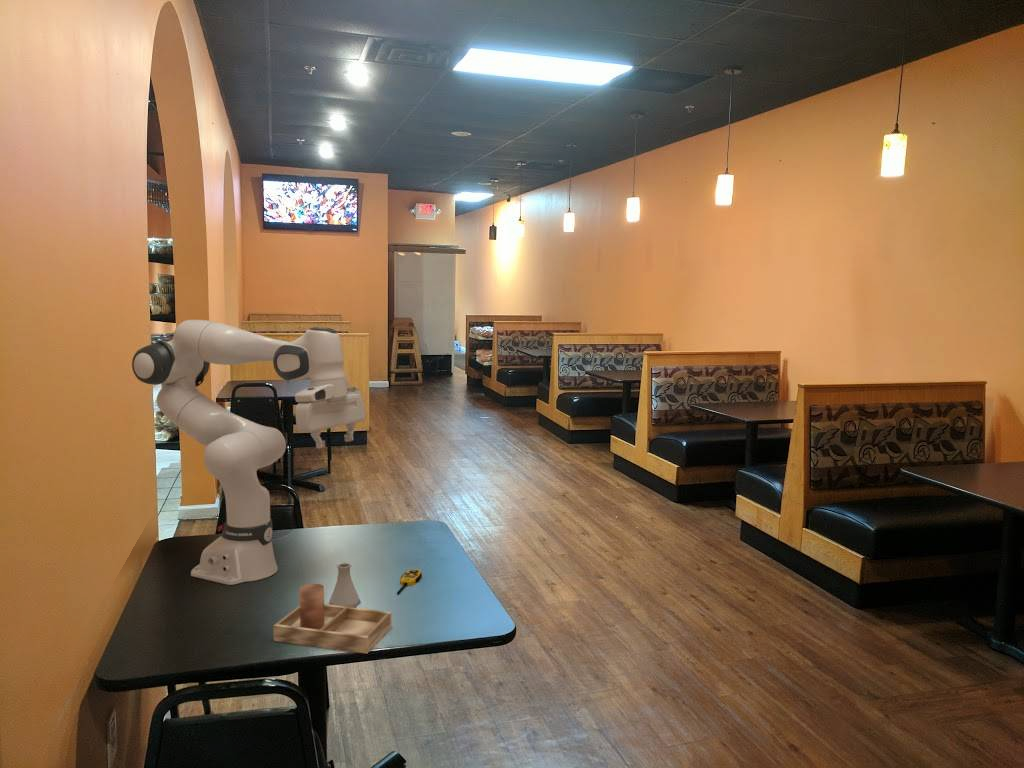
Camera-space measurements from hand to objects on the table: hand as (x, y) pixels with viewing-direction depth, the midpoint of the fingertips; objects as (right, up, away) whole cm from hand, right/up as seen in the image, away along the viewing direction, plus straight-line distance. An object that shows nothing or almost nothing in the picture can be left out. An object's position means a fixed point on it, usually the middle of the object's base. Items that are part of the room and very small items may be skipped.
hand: (335, 444), depth 184 cm
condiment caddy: (+5, -40, -23) cm, 47 cm away
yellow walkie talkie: (+18, -38, +6) cm, 42 cm away
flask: (+4, -39, -7) cm, 40 cm away
